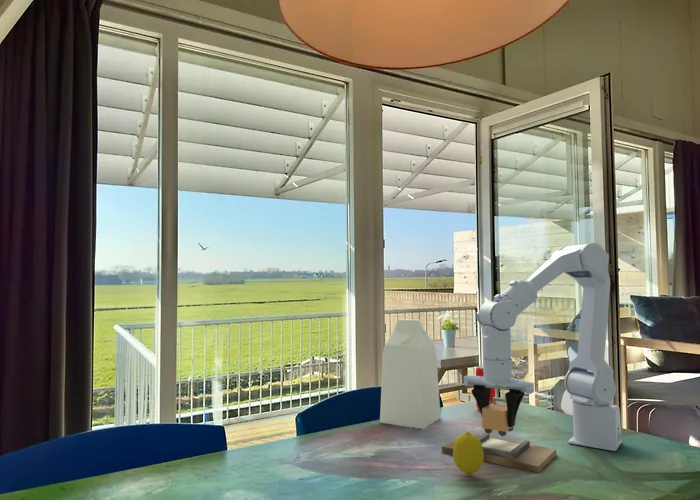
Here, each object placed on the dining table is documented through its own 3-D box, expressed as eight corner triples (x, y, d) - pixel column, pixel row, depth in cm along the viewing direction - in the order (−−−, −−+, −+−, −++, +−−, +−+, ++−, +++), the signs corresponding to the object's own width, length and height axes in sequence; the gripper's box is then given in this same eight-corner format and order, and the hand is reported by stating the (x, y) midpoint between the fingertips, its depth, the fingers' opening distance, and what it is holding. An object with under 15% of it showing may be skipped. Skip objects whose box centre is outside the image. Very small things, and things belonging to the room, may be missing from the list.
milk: (440, 418, 135) (438, 319, 136) (423, 429, 125) (421, 322, 126) (399, 412, 141) (398, 317, 142) (379, 422, 131) (378, 320, 133)
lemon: (482, 483, 91) (481, 437, 91) (451, 479, 93) (450, 434, 93) (485, 472, 96) (484, 429, 97) (455, 469, 98) (455, 426, 98)
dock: (556, 455, 105) (556, 444, 105) (538, 472, 96) (538, 460, 96) (465, 438, 117) (465, 428, 117) (441, 452, 108) (441, 441, 108)
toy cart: (493, 427, 111) (492, 396, 111) (515, 431, 108) (514, 399, 109) (482, 433, 106) (481, 402, 107) (505, 437, 103) (504, 405, 104)
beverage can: (472, 409, 144) (471, 366, 144) (487, 407, 146) (486, 364, 147) (484, 413, 139) (483, 368, 140) (499, 411, 141) (498, 367, 142)
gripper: (457, 357, 109) (458, 422, 108) (525, 364, 100) (527, 434, 100) (470, 354, 115) (471, 415, 114) (536, 359, 106) (538, 426, 105)
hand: (498, 424), depth 107 cm, fingers closed on toy cart, 5 cm apart
